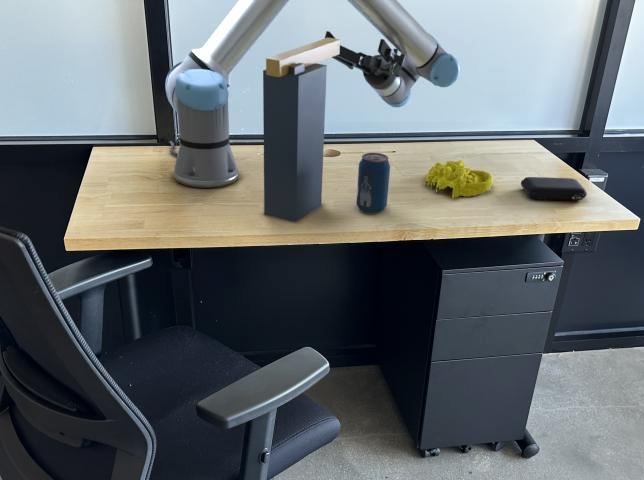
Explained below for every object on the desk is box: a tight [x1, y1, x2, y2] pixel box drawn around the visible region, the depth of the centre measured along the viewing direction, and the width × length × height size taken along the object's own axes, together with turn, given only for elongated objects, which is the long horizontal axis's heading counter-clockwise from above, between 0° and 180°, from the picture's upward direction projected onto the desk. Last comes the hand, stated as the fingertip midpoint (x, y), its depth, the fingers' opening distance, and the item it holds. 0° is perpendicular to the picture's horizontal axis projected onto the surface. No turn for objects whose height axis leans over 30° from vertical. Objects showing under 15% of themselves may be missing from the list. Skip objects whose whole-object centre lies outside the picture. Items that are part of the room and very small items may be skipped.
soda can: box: [355, 152, 391, 215], centre depth 165 cm, size 7×7×12 cm
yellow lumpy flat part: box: [424, 159, 493, 199], centre depth 183 cm, size 16×16×4 cm
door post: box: [262, 63, 328, 223], centre depth 157 cm, size 12×8×32 cm, turn 154°
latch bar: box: [265, 37, 341, 77], centre depth 151 cm, size 26×3×3 cm, turn 154°
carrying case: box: [520, 176, 588, 201], centre depth 180 cm, size 11×3×15 cm
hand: (353, 41), depth 168 cm, fingers open, 13 cm apart
